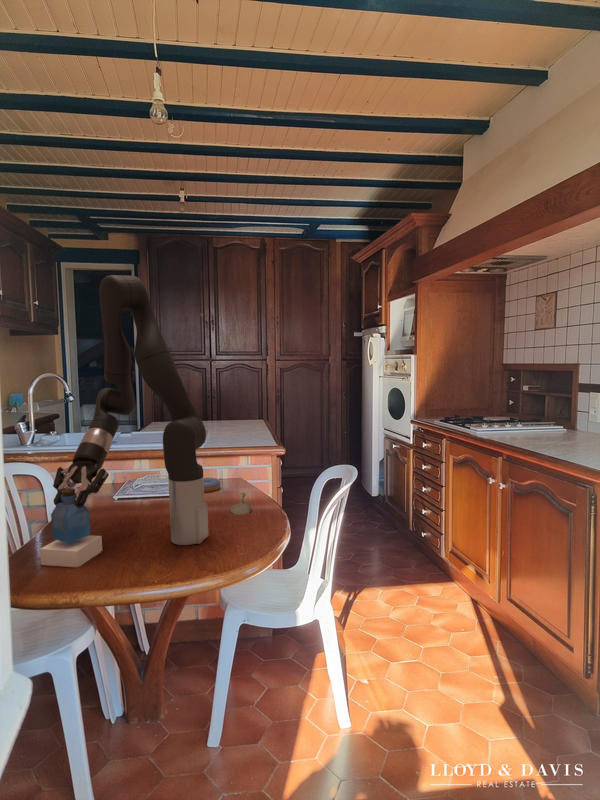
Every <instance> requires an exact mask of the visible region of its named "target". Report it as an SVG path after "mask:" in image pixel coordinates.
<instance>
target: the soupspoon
mask: <svg viewBox="0 0 600 800" xmlns="http://www.w3.org/2000/svg"><path fill="white" fill-rule="evenodd" d="M244 496H247V495H246V493H245V492H244V491H242V492H240V500H239V502H238V503H235V504H233V505H232V506H231V507H230V512H231V514H232V515H235V516H236V515H237V516H240V515H248V514H251V512H252V506H251V505H250V504H249V503H246V502H243V501H244Z"/></svg>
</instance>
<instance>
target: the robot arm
mask: <svg viewBox="0 0 600 800" xmlns="http://www.w3.org/2000/svg"><path fill="white" fill-rule="evenodd" d="M98 293H99V294H98V295H99V305H100V313H101V322H102V331H103V338H104V370H103V371H104V372H103V377H104V380H105V381H106V382H108V383H109V384H112V385H113V386H116V388H118V389H115V388H110V387H105V388H102V389H101V390H100V391H98V393H97V395H96V400H95V409H94V413H93V418H92V421H91V422H90V424H89V427H88V429H87V431H86V432H85V433H84V435H83V436H82V439H81V441H80V442H79V444H78V447H77V448H76V451H75V453H74V455H73V457H72V458H73V459H72V462H71V464H70V465H69V466H68V467H66V468H63V467H62V466H59V467H58V468H57V471H56V473H55V477H54V480H53V485H52V486H53V488H54V489H55V490H56V491H57V492H56V495H55V497H54V498H53V505H55V506H56V505H57V504H59V503H63V500H61V495H63V494H62V490H64V489H68V488H75V486H76V485H77V484H78V485H79V484H81V490H80V491H79V493H78V495H77V498H76V502H75V506H76V507H77V508H82V506H83V505H84V506H85V504H86V502H87V500H88V497H89V495H91V494H93V493H94V494H97V493H99V491H100V489H101V488H102V486H103V484H104V483H105V482H106V480H107V479H108V477H109V472H108V471H107V469H105V468H103V466H104V463H105V460H106V459H107V456H108V455H109V452H110V450H111V448H112V444H113V440H114V438H115V436H116V434H117V432H118V429H119V426H120V422H119V420H118V419H117V417H116V416H114V415H112V414H115V415H120V416H128V415H131V413H132V412H133V411H134V410H135V407H136V397H135V393H134V387H133V384H132V377H131V372H132V371H131V370H132V353H131V352H132V351H131V348H130V346H129V344H128V343H129V342H128V341H127V339H126V337H125V334H124V333H123V332H124V331H123V329H122V324H121V317H122V311H129V312H130V314H131V317H132V319H133V321H134V324H135V328H136V339H135V344H134V359H135V362H136V365H137V368H138V370H139V372H140V375H141V376H142V379H143V380H144V382H145V384H146V385H147V386H148V388H149V389H150V390H151V391H152V392H153V394H154V395H155V396H156V397H158V398H159V400H160V401H161V402H162V403H163V405H164V407H165V408H166V410H167V412H168V414H169V416H170V418H171V421H170V422H168V424H166V426H165V427H164V430H163V432H162V433H163V434H162V451H163V460H164V461H163V462H164V467H165V470H166V473H167V475H168V496H169V497H168V498H169V519H170V520H169V521H170V541H171V542H172V543H173V544H175V545H178V546H190V545H196V544H197V545H200V544H201V543H203V542H204V540H206V539H207V538H208V536H209V517H208V516H209V515H208V513H209V511H208V502H205V493H204V481H203V478H204V467H203V465H201V464H199V463H198V461H197V452H196V451H197V450H198V449H200V448H201V447H202V446H203V445H204V444H205V442H206V439H207V430H206V426H205V425H204V422H203V420H202V418H201V417H200V415H199V413H198V412H197V410H196V408H195V407H194V404H193V403H192V400H191V398H190V397H189V394H188V392H187V390H186V388H185V385H184V383H183V381H182V380H183V379H182V378H181V376H180V373H179V372H178V368H177V366H176V364H175V361H174V359H173V357H172V354H171V352H170V349H169V347H168V346H167V344H166V342H165V339H164V336H163V333H162V331H161V329H160V326H159V323H158V321H157V318H156V315H155V312H154V309H153V306H152V302H151V300H150V296H149V293H148V290H147V288H146V286H145V284H144V282H143V281H142V280H141V279H140V278H139V277H138V276H135V275H124V274H123V275H121V274H119V275H118V274H112V275H106V276H105V277H103V279H102V280H101V282H100V286H99V292H98Z"/></svg>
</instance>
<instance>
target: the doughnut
mask: <svg viewBox="0 0 600 800" xmlns="http://www.w3.org/2000/svg"><path fill="white" fill-rule="evenodd" d="M203 481H204V494H205V493H212V492H217V491H219V489H220V488H221V481H220V480H219V479H218V478H216V477H203Z"/></svg>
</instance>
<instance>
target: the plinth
mask: <svg viewBox="0 0 600 800" xmlns="http://www.w3.org/2000/svg"><path fill="white" fill-rule="evenodd" d="M102 537H103V536H102V535H92V534H90V535H89V536H86V537H83V538H81V539H78V540H75V541H72V542H70V543H65V542H62V541H59V540H56V539H54V541H51V542H50V543H48V544H47V545H44V546H43V547H40V549H39V554H40V556H39V557H40V565H41V566H52V567H53V566H54V567H69V568H79V567H81V566H82V565H84V564H85V563H87V562H88V561H90V560H92V559H93V558H94V557H97V555H99V554H100V553H102V552H103V540H102V539H103V538H102ZM101 551H102V552H101Z"/></svg>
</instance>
